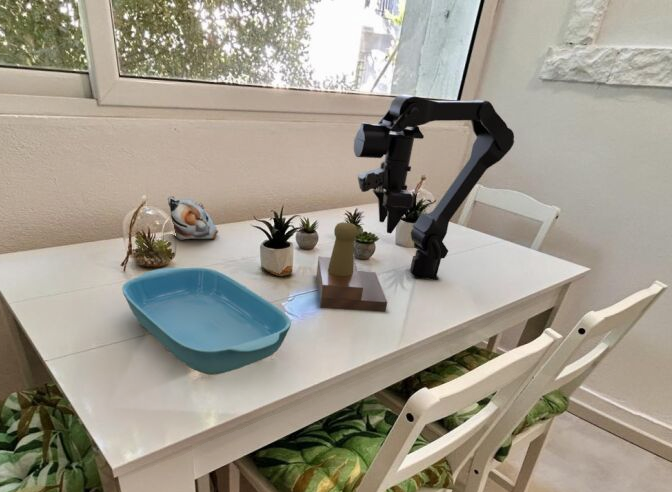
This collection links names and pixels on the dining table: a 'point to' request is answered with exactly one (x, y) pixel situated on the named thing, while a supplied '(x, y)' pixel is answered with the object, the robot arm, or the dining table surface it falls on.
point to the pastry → (284, 272)
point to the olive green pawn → (343, 249)
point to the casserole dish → (206, 318)
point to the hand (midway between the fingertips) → (385, 227)
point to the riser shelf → (349, 289)
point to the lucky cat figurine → (191, 220)
